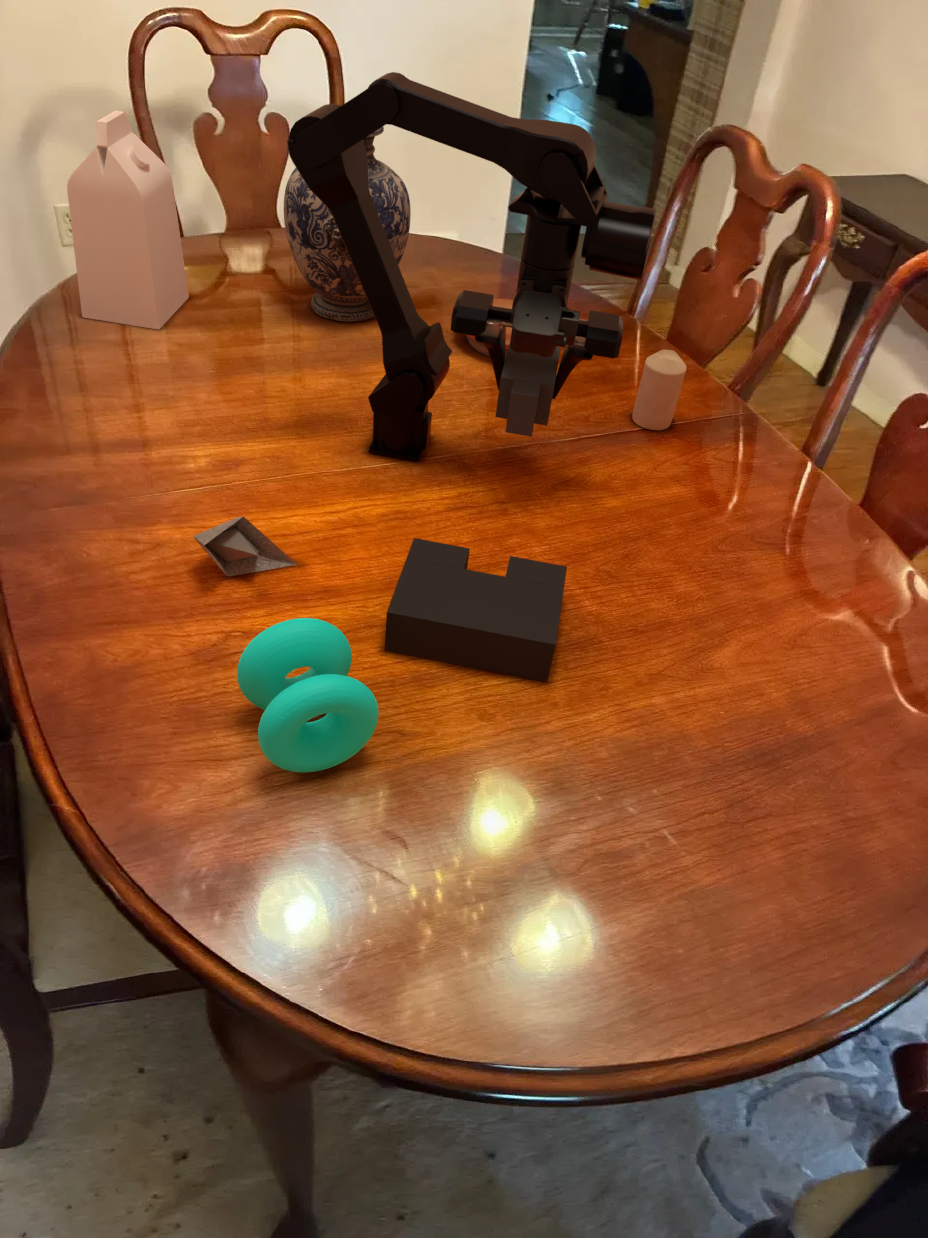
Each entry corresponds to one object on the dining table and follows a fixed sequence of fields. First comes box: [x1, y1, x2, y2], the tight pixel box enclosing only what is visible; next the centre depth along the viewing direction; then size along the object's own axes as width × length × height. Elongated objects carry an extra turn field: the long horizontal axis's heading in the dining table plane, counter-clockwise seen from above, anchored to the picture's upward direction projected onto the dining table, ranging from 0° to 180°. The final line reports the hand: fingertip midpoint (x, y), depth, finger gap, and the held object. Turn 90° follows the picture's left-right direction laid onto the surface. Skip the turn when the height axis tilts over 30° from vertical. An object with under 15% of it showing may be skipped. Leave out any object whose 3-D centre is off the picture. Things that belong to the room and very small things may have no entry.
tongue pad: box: [495, 344, 562, 437], centre depth 106 cm, size 6×13×5 cm, turn 171°
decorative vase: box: [283, 126, 412, 323], centre depth 137 cm, size 21×19×28 cm
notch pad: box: [384, 537, 568, 683], centre depth 92 cm, size 16×12×5 cm
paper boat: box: [192, 516, 298, 578], centre depth 94 cm, size 12×6×9 cm
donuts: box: [236, 617, 380, 773], centre depth 77 cm, size 10×10×10 cm
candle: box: [631, 349, 687, 431], centre depth 126 cm, size 6×6×10 cm
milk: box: [66, 110, 190, 330], centre depth 130 cm, size 12×12×26 cm
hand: (526, 392), depth 108 cm, fingers closed on tongue pad, 6 cm apart
